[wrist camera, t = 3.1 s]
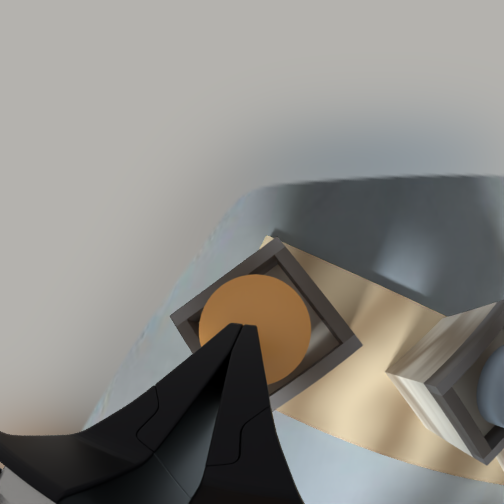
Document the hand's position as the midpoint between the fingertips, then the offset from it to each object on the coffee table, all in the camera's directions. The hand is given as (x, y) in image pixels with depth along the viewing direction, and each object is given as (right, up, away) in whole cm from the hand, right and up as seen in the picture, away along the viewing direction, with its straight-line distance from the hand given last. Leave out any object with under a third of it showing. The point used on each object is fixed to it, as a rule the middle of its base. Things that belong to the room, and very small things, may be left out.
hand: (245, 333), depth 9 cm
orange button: (+1, -1, +3) cm, 3 cm away
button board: (+13, -8, +10) cm, 18 cm away
